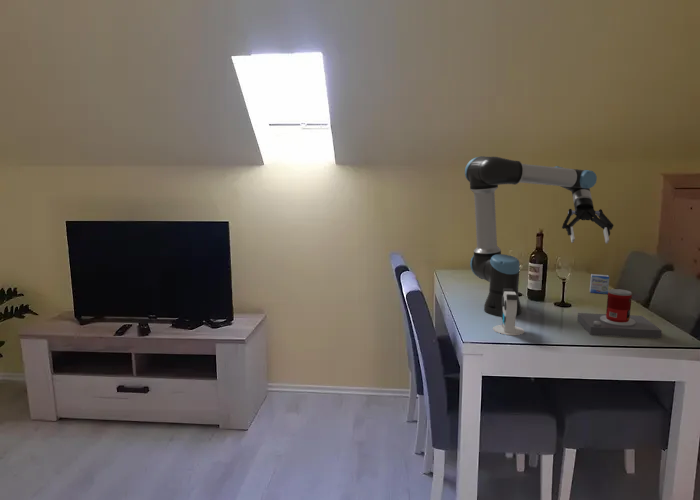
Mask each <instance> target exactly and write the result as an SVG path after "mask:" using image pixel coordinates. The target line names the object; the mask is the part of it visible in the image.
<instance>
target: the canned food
mask: <svg viewBox="0 0 700 500" xmlns="http://www.w3.org/2000/svg"><path fill="white" fill-rule="evenodd" d="M632 297H633V292H632V291H630V290H626V289H619V288H611V289H608V294H607V300H606V313H605V314H606V318H607V319H608V320H610V321H614V322H628V321H629V319H630V315H631V308H632Z"/></svg>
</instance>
